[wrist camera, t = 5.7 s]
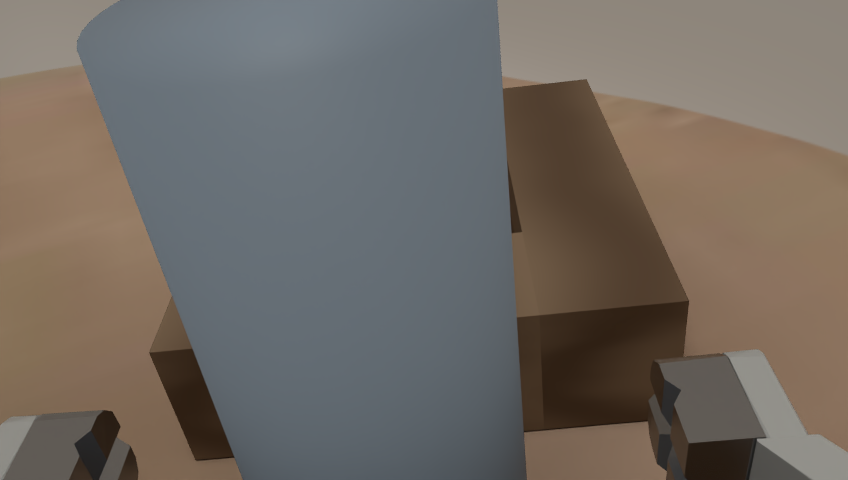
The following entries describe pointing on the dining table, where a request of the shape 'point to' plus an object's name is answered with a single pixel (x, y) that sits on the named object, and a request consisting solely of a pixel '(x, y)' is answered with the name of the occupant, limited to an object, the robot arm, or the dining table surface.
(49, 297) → the dining table surface
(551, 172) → the socket
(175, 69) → the peg
